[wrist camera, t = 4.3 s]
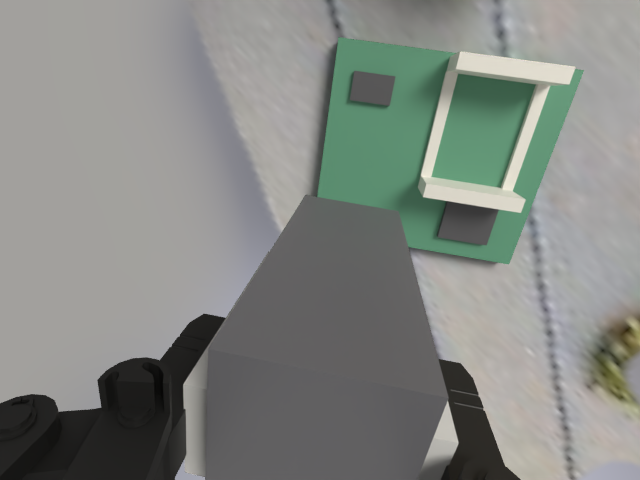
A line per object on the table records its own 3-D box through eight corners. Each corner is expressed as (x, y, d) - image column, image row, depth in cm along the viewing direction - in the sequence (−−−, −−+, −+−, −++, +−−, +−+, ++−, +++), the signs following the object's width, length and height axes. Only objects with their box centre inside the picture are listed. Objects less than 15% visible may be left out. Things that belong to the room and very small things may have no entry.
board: (339, 39, 26) (334, 30, 22) (574, 71, 25) (611, 66, 21) (314, 225, 32) (307, 243, 28) (503, 258, 31) (523, 281, 27)
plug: (305, 194, 15) (207, 349, 6) (398, 211, 15) (448, 398, 6) (288, 322, 18) (203, 568, 8) (367, 338, 17) (367, 608, 8)
